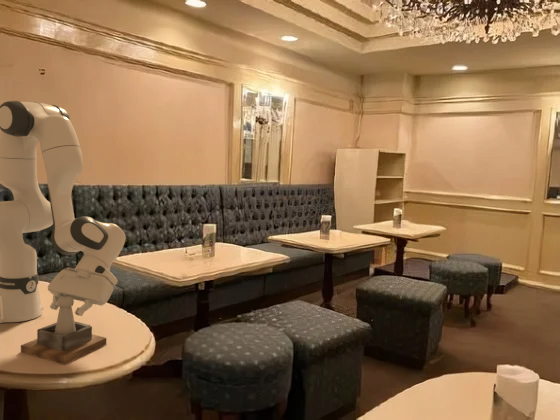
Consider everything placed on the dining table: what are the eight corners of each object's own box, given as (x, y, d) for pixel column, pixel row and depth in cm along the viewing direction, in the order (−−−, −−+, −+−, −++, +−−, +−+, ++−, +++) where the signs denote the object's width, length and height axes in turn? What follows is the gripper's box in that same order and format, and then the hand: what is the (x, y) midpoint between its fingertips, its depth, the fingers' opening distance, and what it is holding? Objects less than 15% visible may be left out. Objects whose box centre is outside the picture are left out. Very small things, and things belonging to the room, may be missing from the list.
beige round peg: (68, 346, 138) (68, 301, 136) (49, 344, 139) (49, 299, 137) (79, 338, 144) (80, 296, 142) (62, 336, 145) (62, 293, 143)
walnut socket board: (20, 352, 137) (20, 331, 136) (65, 333, 152) (65, 315, 151) (64, 364, 131) (64, 343, 130) (106, 344, 146) (106, 324, 145)
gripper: (59, 260, 150) (32, 299, 142) (112, 270, 142) (86, 312, 134) (70, 271, 154) (44, 310, 147) (122, 282, 147) (98, 323, 139)
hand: (65, 311), depth 140 cm, fingers open, 8 cm apart
